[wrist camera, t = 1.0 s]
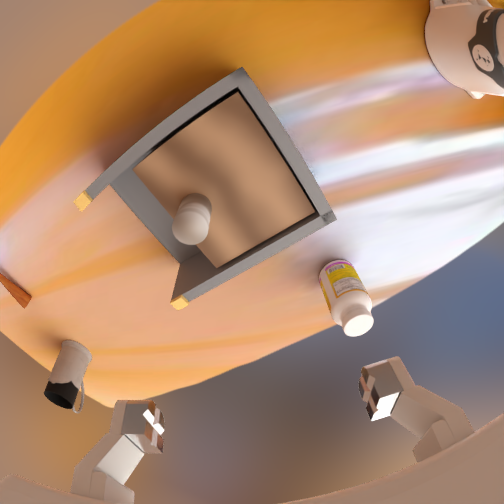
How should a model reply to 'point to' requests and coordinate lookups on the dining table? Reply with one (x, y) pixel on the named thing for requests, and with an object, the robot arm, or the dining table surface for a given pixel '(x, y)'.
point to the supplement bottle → (346, 297)
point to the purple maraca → (16, 291)
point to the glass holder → (68, 375)
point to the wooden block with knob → (224, 182)
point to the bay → (160, 221)
